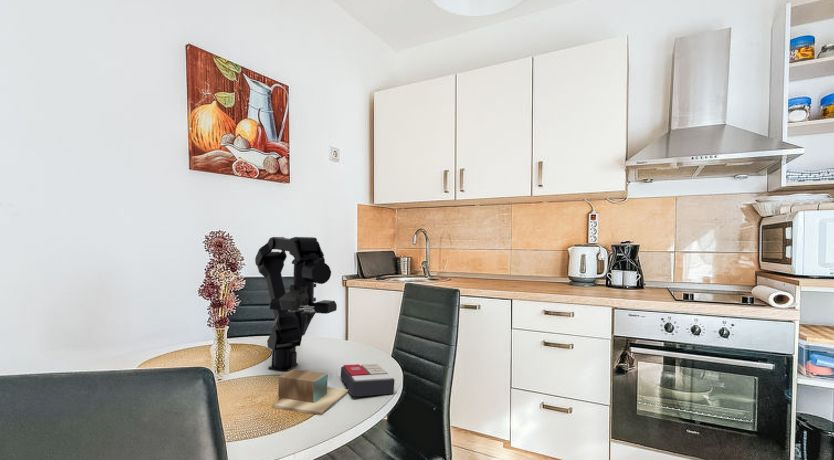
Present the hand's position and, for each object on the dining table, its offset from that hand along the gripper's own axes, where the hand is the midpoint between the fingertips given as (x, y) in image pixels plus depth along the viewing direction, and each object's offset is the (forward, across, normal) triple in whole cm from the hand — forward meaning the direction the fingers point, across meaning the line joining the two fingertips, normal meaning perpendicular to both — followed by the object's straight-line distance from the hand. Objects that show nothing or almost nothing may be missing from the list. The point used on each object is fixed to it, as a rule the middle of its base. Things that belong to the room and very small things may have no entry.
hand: (302, 335), depth 110 cm
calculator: (+12, +20, 0) cm, 23 cm away
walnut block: (+9, +3, -12) cm, 15 cm away
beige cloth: (+12, +11, -12) cm, 20 cm away
